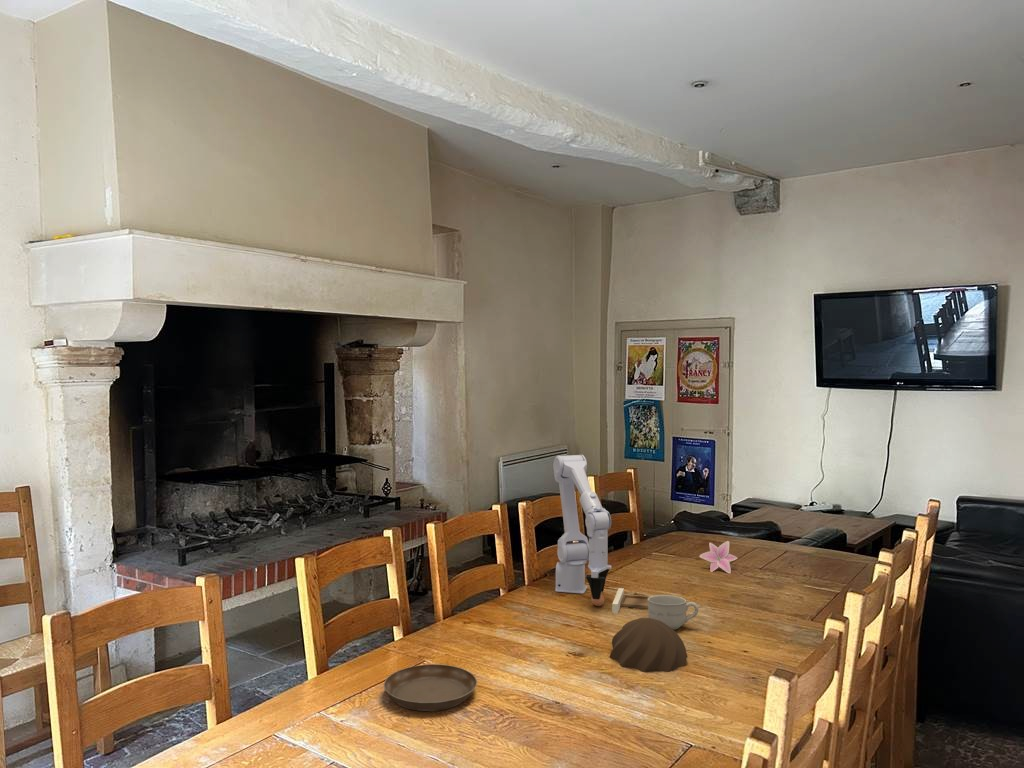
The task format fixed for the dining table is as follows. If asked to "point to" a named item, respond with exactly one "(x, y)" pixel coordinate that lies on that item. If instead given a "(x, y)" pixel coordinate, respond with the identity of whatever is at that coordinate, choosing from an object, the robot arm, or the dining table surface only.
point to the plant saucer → (430, 687)
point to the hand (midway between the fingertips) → (598, 595)
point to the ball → (598, 601)
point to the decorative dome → (648, 646)
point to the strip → (617, 600)
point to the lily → (719, 557)
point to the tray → (635, 601)
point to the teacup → (670, 610)
